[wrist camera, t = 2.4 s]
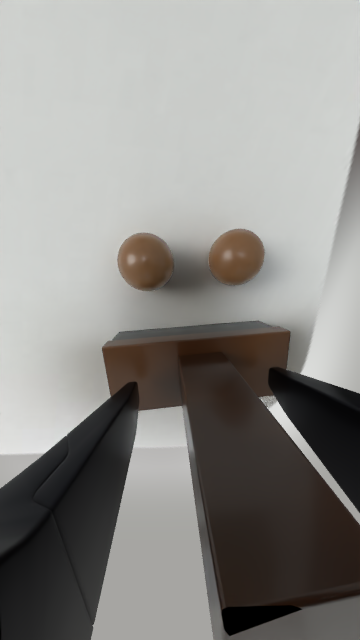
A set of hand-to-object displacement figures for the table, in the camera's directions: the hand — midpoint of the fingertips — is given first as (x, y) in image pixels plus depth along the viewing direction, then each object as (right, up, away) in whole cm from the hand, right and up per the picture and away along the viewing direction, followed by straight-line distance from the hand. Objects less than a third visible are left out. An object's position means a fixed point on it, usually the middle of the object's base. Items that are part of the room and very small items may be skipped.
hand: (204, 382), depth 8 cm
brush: (0, +1, +4) cm, 4 cm away
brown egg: (-3, +6, +1) cm, 7 cm away
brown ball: (+2, +7, +1) cm, 7 cm away
